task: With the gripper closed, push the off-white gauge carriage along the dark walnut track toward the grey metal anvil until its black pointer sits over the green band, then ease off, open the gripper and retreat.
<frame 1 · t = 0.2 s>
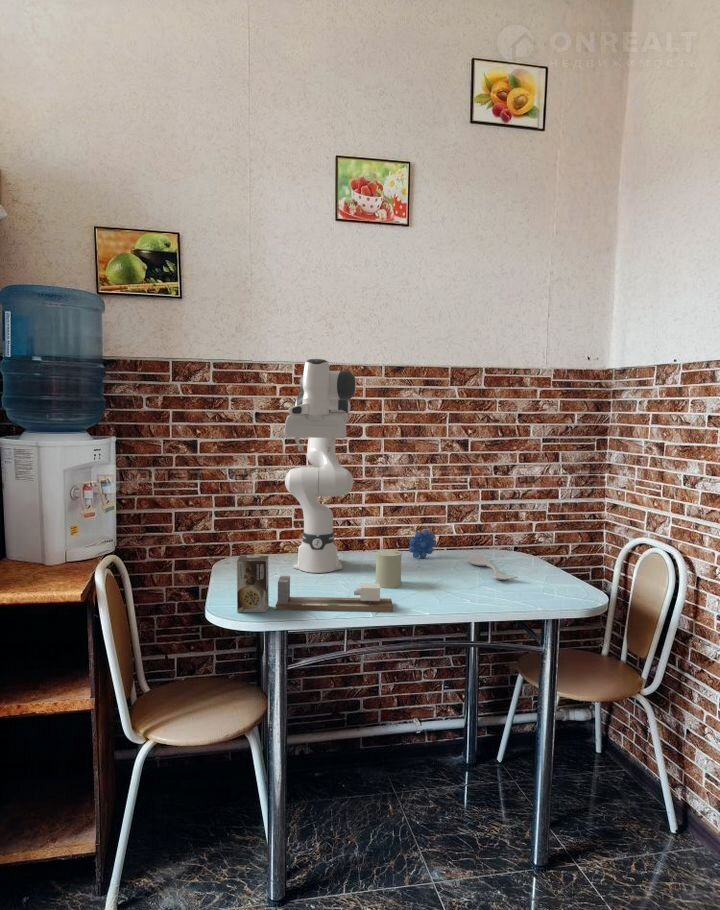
hand: (315, 451, 200), 48 cm above the table, fingers open, 8 cm apart
spoon: (489, 572, 236), on the table
grapes: (421, 558, 255), on the table
gauge base: (334, 606, 193), on the table
gauge carriage: (366, 593, 192), point 5 cm above the table, slide at 0.0 cm
coffee box: (252, 609, 189), on the table
can: (388, 585, 217), on the table
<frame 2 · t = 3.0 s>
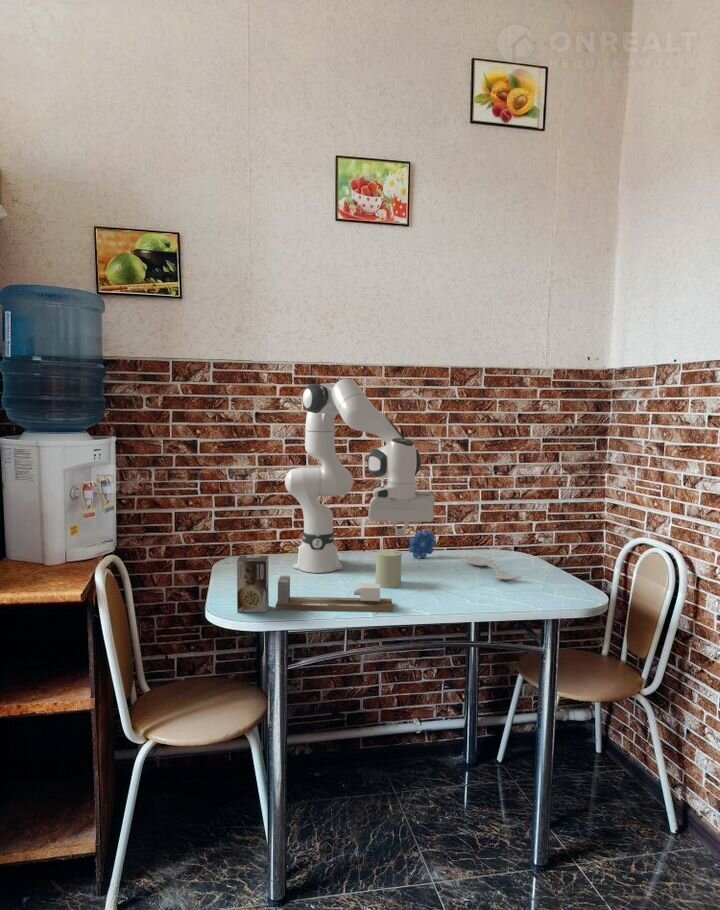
hand: (400, 535, 191), 23 cm above the table, fingers closed
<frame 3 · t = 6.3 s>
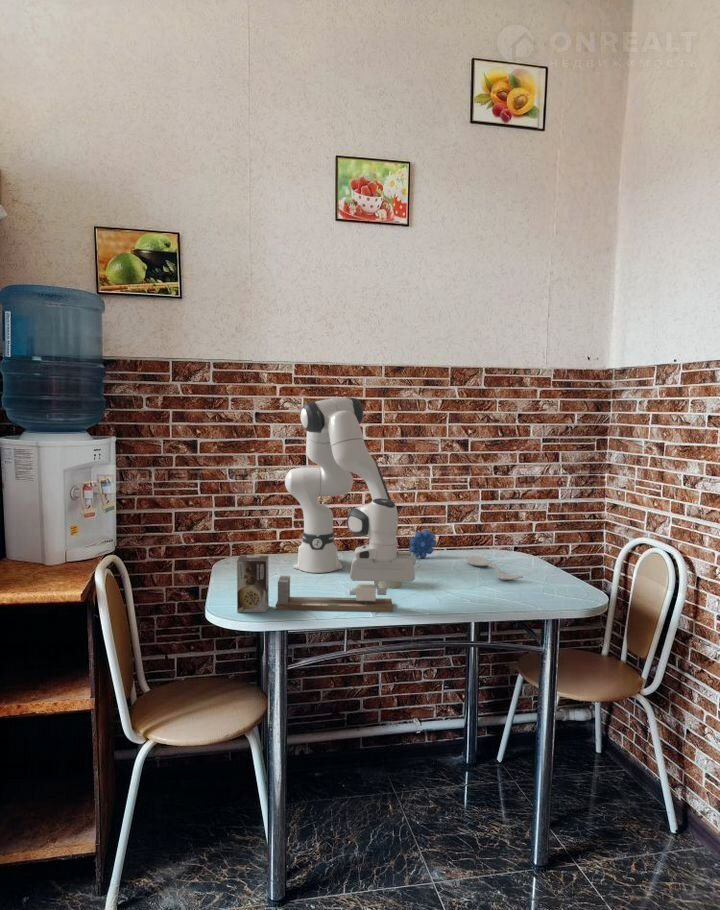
hand: (381, 594, 193), 4 cm above the table, fingers closed
gauge carriage: (362, 593, 192), point 5 cm above the table, slide at 1.3 cm, touching gripper
everything else where it was.
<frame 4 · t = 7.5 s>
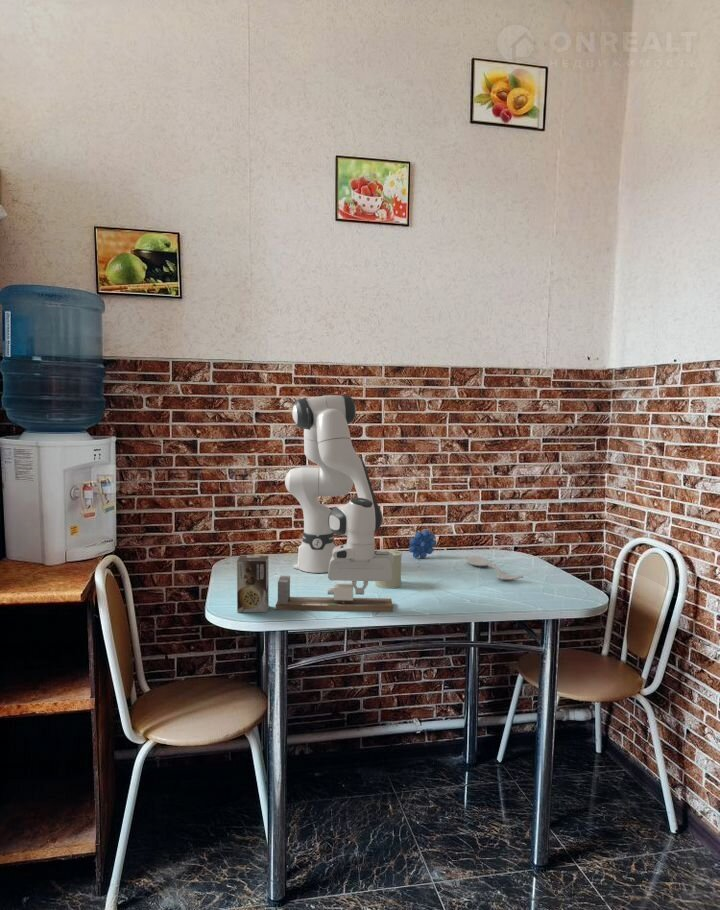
hand: (359, 594, 193), 4 cm above the table, fingers closed
gauge carriage: (340, 593, 191), point 5 cm above the table, slide at 8.3 cm, touching gripper
everything else where it was.
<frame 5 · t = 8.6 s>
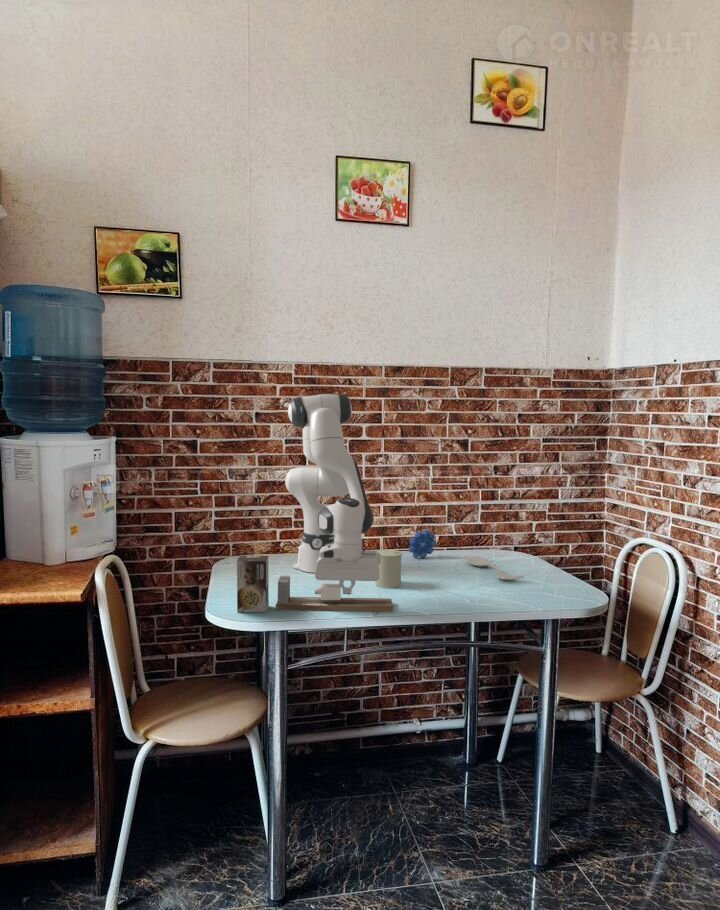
hand: (347, 593, 192), 4 cm above the table, fingers closed
gauge carriage: (327, 592, 191), point 5 cm above the table, slide at 12.3 cm, touching gripper
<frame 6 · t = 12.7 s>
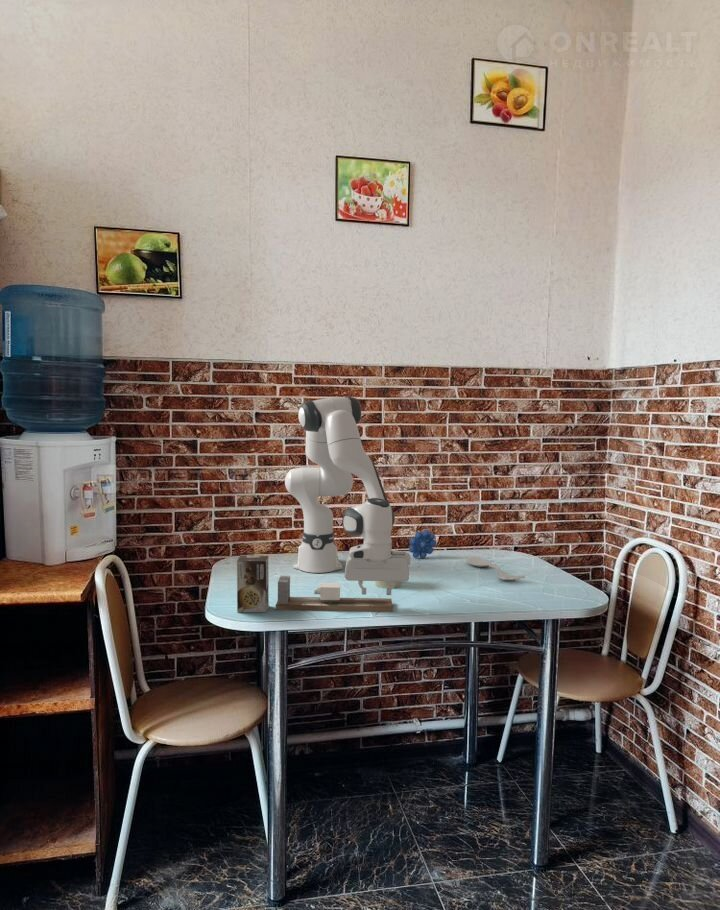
hand: (376, 594, 192), 4 cm above the table, fingers open, 6 cm apart
gauge carriage: (327, 592, 191), point 5 cm above the table, slide at 12.4 cm
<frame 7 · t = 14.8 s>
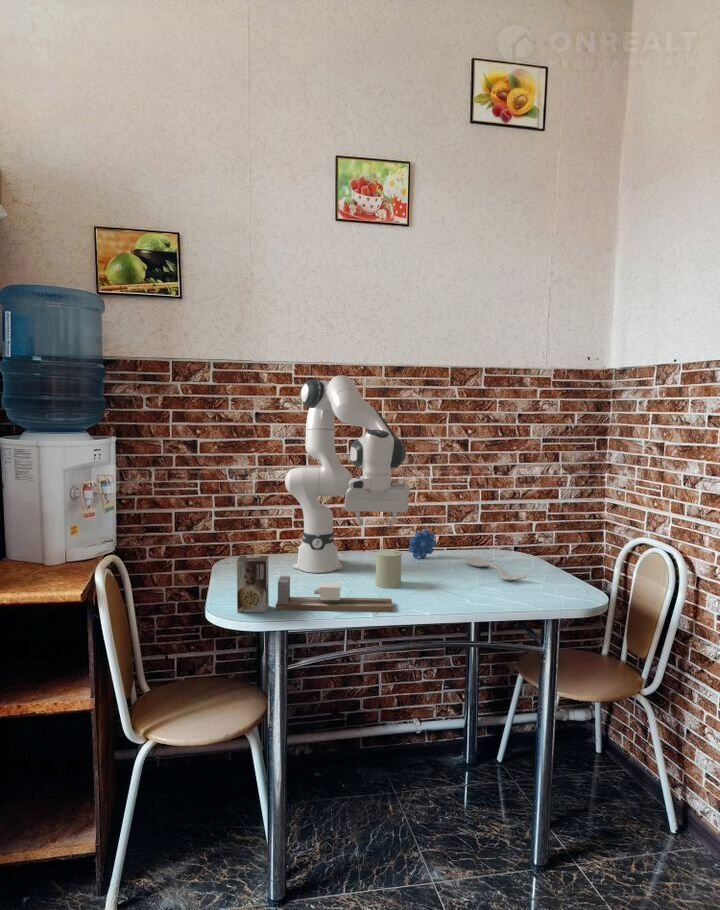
hand: (375, 525, 194), 25 cm above the table, fingers open, 8 cm apart
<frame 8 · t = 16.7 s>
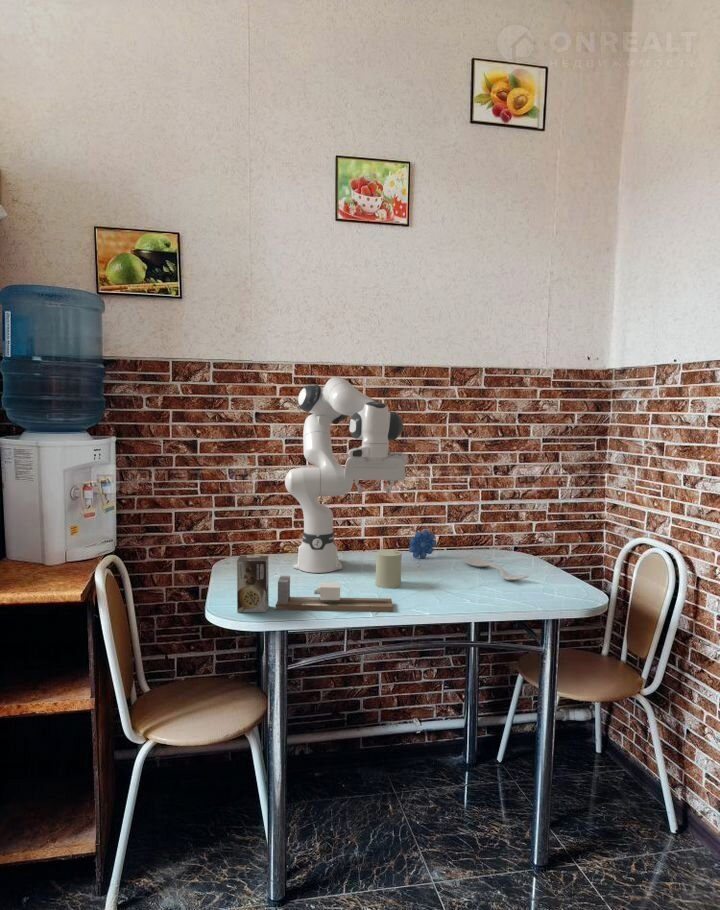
hand: (374, 493, 203), 34 cm above the table, fingers open, 8 cm apart
at the end: gauge carriage slide at 12.4 cm; the gripper is holding nothing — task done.
